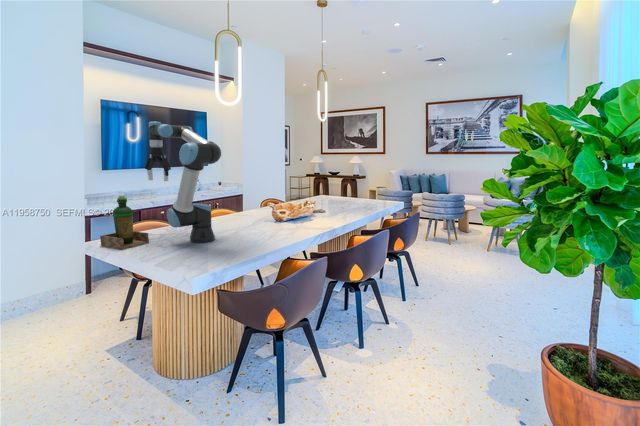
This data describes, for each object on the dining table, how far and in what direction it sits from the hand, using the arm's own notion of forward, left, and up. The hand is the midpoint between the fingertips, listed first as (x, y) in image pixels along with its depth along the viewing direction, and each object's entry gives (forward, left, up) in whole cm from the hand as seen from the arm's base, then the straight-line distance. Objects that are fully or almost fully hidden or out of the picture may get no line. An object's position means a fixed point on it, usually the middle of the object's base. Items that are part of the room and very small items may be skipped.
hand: (158, 180), depth 234 cm
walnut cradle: (+2, +25, -37) cm, 44 cm away
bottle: (+2, +25, -36) cm, 44 cm away
